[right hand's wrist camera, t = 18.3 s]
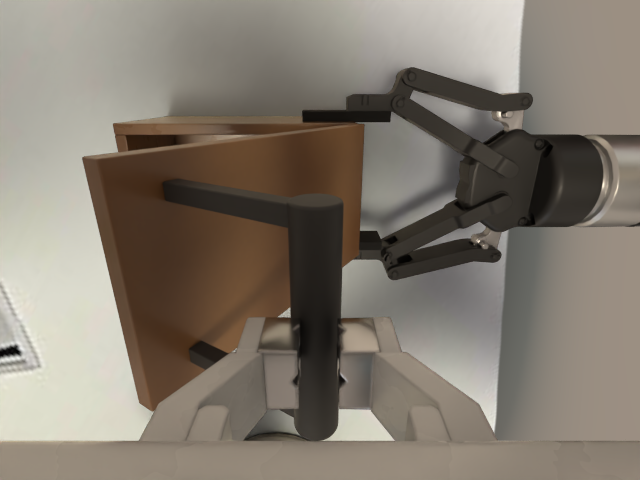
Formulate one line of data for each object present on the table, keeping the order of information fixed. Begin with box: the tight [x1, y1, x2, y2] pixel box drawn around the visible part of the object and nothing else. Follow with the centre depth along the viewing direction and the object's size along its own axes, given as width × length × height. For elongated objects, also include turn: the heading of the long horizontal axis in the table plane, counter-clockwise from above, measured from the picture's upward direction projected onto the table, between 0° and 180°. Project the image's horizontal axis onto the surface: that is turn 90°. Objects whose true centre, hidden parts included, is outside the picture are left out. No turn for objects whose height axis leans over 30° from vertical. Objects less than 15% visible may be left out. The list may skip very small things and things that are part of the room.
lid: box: [82, 124, 364, 441], centre depth 18 cm, size 18×10×8 cm
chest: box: [113, 116, 357, 152], centre depth 31 cm, size 17×10×10 cm, turn 90°
